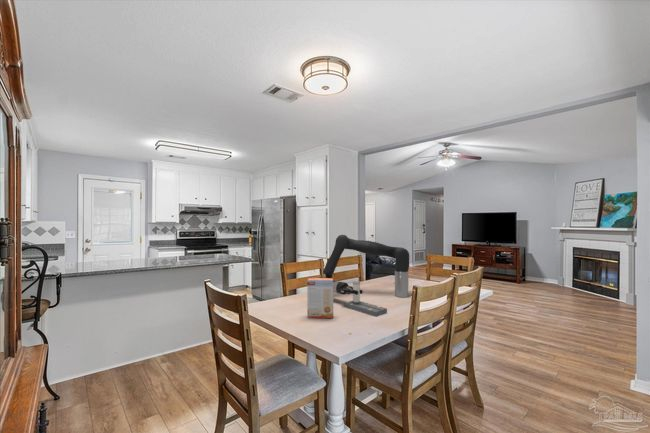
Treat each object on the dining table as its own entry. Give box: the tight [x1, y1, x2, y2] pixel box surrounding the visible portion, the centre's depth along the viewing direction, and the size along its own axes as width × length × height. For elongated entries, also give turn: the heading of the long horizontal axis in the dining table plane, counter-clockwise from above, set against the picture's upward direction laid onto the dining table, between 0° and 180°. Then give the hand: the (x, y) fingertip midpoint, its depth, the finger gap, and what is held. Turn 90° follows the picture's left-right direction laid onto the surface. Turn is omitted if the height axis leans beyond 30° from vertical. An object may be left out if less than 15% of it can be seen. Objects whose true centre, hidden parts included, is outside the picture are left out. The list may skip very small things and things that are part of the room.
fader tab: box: [351, 280, 362, 304], centre depth 191 cm, size 4×4×13 cm
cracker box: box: [306, 277, 334, 319], centre depth 173 cm, size 14×6×21 cm, turn 84°
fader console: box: [344, 300, 388, 317], centre depth 186 cm, size 24×10×3 cm, turn 42°
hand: (359, 292), depth 189 cm, fingers closed on fader tab, 3 cm apart
